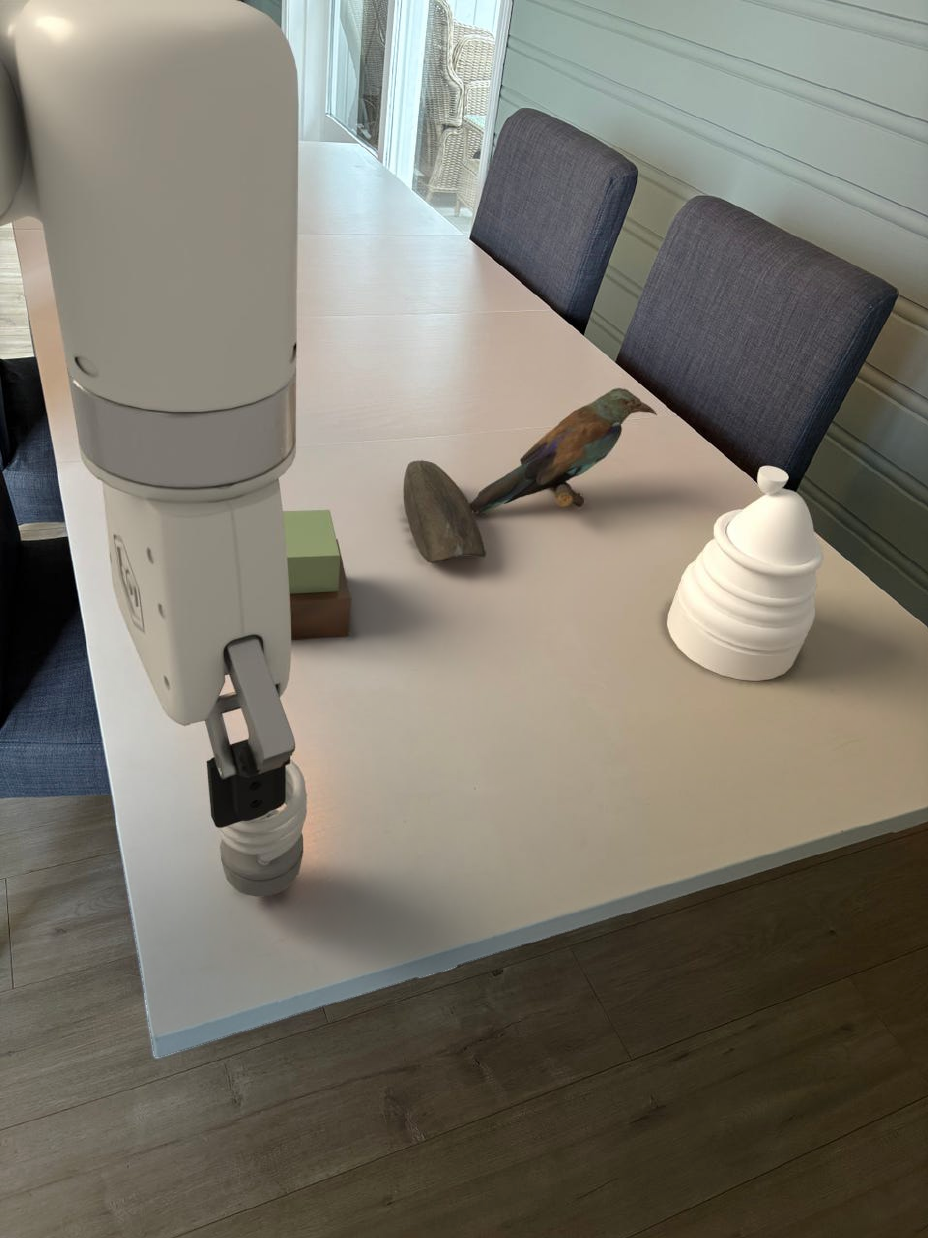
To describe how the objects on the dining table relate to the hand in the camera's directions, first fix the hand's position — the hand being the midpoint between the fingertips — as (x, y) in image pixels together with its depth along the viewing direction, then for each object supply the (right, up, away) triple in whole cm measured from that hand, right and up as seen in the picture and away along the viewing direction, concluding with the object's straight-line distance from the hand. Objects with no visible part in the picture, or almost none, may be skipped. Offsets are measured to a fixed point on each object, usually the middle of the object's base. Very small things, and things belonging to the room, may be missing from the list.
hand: (213, 737), depth 43 cm
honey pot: (+38, +4, +47) cm, 61 cm away
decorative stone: (+9, +15, +55) cm, 58 cm away
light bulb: (-2, -13, +20) cm, 23 cm away
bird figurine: (+22, +19, +62) cm, 68 cm away
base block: (-4, +7, +42) cm, 43 cm away
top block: (-3, +10, +39) cm, 41 cm away
